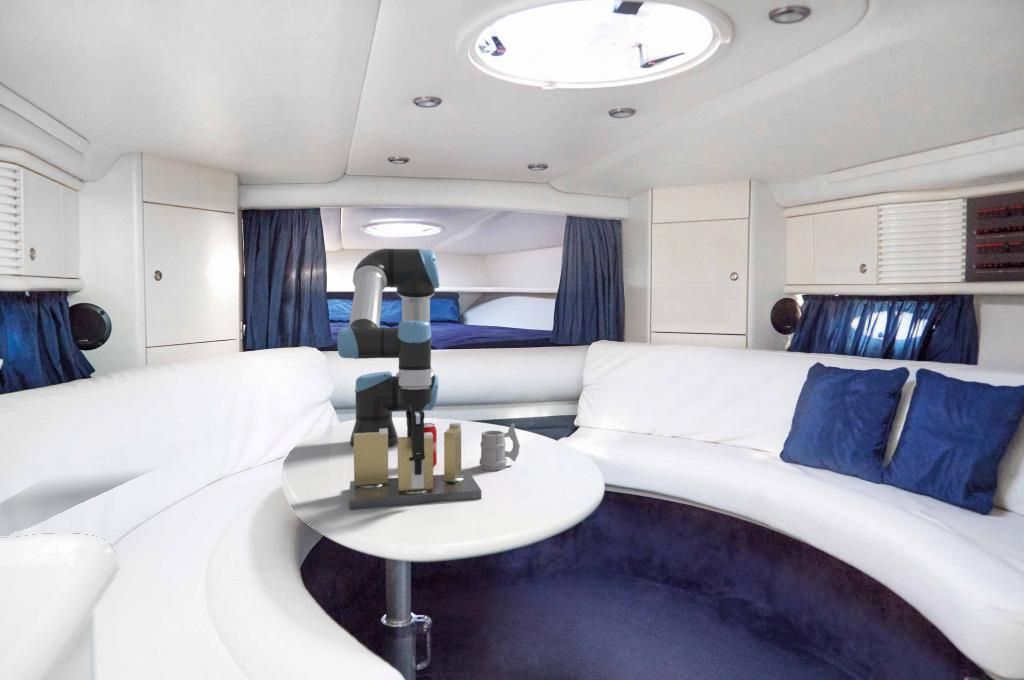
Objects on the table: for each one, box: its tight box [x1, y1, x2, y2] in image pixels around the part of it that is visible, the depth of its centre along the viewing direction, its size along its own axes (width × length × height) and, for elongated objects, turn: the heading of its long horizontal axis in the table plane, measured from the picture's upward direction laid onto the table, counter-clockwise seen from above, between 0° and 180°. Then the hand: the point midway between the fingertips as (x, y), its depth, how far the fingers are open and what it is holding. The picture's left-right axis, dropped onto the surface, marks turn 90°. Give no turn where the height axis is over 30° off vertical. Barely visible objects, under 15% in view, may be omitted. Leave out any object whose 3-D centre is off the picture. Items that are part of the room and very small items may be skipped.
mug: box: [479, 423, 521, 472], centre depth 163 cm, size 8×12×12 cm, turn 112°
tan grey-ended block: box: [397, 432, 434, 491], centre depth 136 cm, size 8×3×13 cm, turn 105°
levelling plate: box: [348, 472, 482, 511], centre depth 140 cm, size 15×30×2 cm, turn 105°
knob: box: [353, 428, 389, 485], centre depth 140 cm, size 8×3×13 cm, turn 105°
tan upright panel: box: [443, 422, 462, 481], centre depth 145 cm, size 8×3×13 cm, turn 173°
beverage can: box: [424, 422, 438, 468], centre depth 163 cm, size 6×6×12 cm
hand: (415, 481), depth 136 cm, fingers open, 10 cm apart
